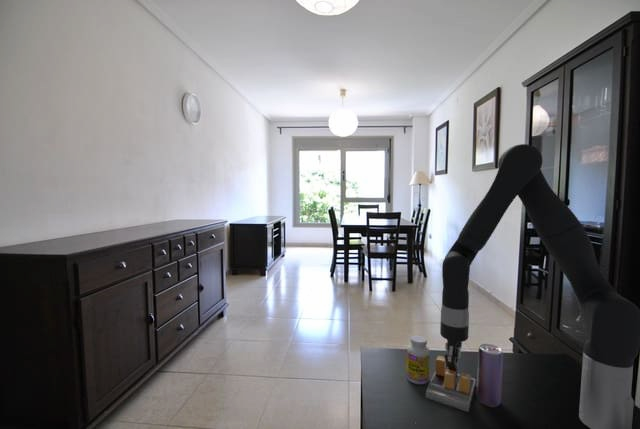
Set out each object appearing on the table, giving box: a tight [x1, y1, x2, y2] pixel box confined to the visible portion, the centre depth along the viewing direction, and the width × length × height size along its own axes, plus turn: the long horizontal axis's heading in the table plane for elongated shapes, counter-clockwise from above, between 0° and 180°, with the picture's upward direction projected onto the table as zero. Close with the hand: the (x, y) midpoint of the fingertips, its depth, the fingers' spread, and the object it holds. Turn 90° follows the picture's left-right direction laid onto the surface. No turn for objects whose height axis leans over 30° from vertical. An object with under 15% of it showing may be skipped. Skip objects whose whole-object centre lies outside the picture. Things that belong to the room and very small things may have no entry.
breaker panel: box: [425, 370, 476, 413], centre depth 94 cm, size 11×14×3 cm
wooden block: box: [435, 355, 447, 376], centre depth 99 cm, size 2×3×5 cm
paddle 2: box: [444, 368, 456, 390], centre depth 91 cm, size 2×3×5 cm
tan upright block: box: [459, 371, 472, 394], centre depth 90 cm, size 2×3×5 cm
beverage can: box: [476, 343, 504, 408], centre depth 89 cm, size 6×6×15 cm
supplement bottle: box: [405, 335, 431, 385], centre depth 100 cm, size 7×7×13 cm
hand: (452, 377), depth 95 cm, fingers closed
